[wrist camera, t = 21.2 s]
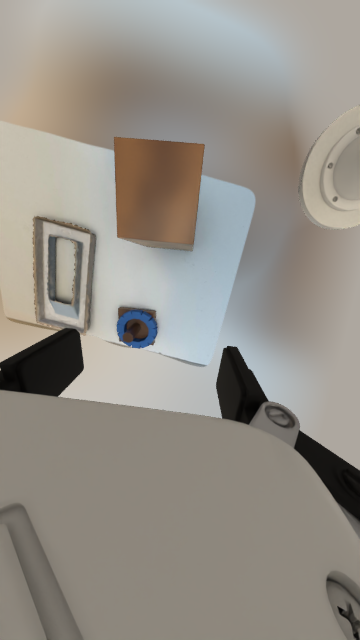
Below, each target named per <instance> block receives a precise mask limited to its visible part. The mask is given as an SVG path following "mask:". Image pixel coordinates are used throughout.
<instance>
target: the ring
mask: <svg viewBox="0 0 360 640" xmlns="http://www.w3.org/2000/svg"><path fill="white" fill-rule="evenodd" d="M151 317H152V316H151V315H150V314H148V313H147V312H146V311H144V312H143V310H136V309H134V310H130V311H128V312H126V313H124V314H123V315H122V316H121V317H120V319H119V320H118V322H117V323H118V324H117V332H119V333H118V336H119V337H120V339H121V341H123V338H122V336H123V334H124V333H125V332H126V331H127V322H128V321H129V320H131V319H140V320H141V321H143V322H144V323H146V325H147V327H148V329H149V333H148V336H147V337H145V338H143V339H137V338H134V339H133V341H132V342H130V343H127V342H125V341H124V342H123V343H125V344H127V345H128V346H131V345H132V348H144V347H146V346H149V345H150V344H151V343H152V342H153V341H154V339H155V337H156V335H157V324H156V322H155V320H154V318H151Z"/></svg>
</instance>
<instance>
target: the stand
mask: <svg viewBox="0 0 360 640" xmlns="http://www.w3.org/2000/svg"><path fill="white" fill-rule="evenodd" d="M204 146H205V145H204V144H197V143H184V142H171V141H159V140H145V139H134V138H121V137H114V151H115V182H116V212H117V237H118V238H121V239H124V240H127V241H131V242H134V243H137V244H140V245H143V246H147V247H154V248H164V249H174V250H185V251H193V245H194V236H195V227H196V218H197V209H198V200H199V191H200V182H201V172H202V164H203V154H204Z"/></svg>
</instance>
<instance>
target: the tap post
mask: <svg viewBox="0 0 360 640" xmlns="http://www.w3.org/2000/svg"><path fill="white" fill-rule="evenodd" d="M134 309H135V308H126V307H120V308H118V315H119V319H120V317H121V316H122V315H123V314H124V313H126V312H128V311H130V310H134ZM136 310H143V312H144V311H146V312H147V313H148V314H150V315H151V316H152V317H151V318H154V320H155V318H156V311H153V310H144V309H136ZM148 333H149V329H148V327H147V325H146V323H144V322H143V321H141V320H140V319H131V320H129V321H128V322H127V331H126V332H125V333H124V334H123V336H122V338H123V341H122V342H124V341H125V342H127V343H130V342H132V341H133V339H134V338H137V339H143V338H145V337H147V336H148ZM154 340H155V339H154ZM119 341H121V339H120V337H119ZM153 344H154V341H153V342H152V343H151V344H150V345H153Z"/></svg>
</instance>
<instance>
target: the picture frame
mask: <svg viewBox="0 0 360 640" xmlns="http://www.w3.org/2000/svg"><path fill="white" fill-rule="evenodd" d="M33 222H34V224H33V227H34V229H33V230H34V231H33V238H32V239H33V245H34V247H33V258H34V262H33V270H34V273H33V277H34V281H35V284H34V286H35V288H34V293H35V300H34V305H35V306H36V307H35V309H36V311H35V314H36V321H37V323H40V324H42V325H46V326H49V327H50V326H51V327H53V328H60V329H64V328H73V329H77V331H78V332H79V333H80V334H82V335H86V331H87V330H88V328H89V321H90V320H89V317H90V303H91V287H92V274H93V265H94V253H95V239H96V236H95V235H94V234H91V232H90V231H89V230H88V229H87V230H86V228H85V229H83V228H82V227H78V225H74V226H73V225H72V223H66V224H65V222H59V221H57V222H56V221H55V220H53V221H52V220H49V219H47V218H44V217H39V216H37V217H35V216H34V218H33ZM56 237H57V238H58V237H60V238H64V239H66V240H70V241H71V242H72V243H74V244H75V248H74V249H76V251H75V254H74V256H75V263H74V265H75V269H74V270H75V276H74V280H73V281H74V284H73V288H72V291H73V294H74V295H73V298H72V303H71V305H70V304H63V303H61V302H57V301H55V242H56Z"/></svg>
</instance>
